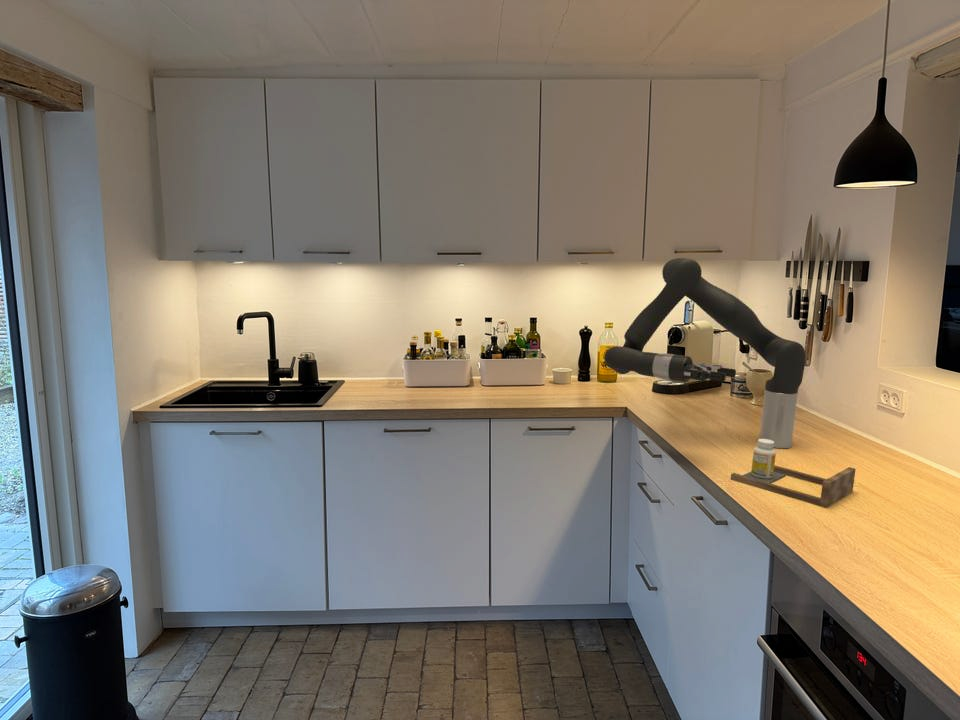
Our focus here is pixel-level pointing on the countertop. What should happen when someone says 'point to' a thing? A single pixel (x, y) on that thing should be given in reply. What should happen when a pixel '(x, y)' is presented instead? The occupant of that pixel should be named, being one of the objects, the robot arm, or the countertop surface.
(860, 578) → the countertop surface
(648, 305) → the robot arm
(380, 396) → the countertop surface
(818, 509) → the countertop surface
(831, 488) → the bay
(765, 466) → the supplement bottle
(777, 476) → the front mat
